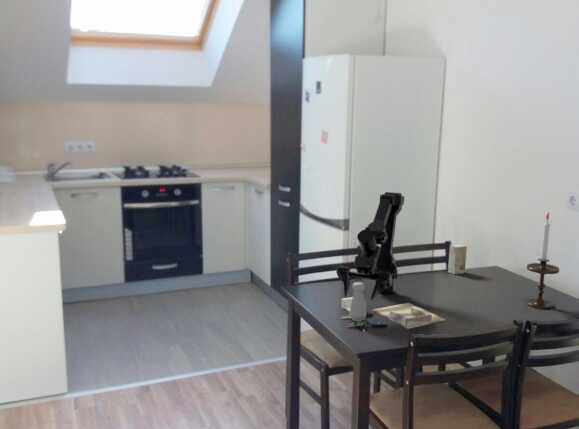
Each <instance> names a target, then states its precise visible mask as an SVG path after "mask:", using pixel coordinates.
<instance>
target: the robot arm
mask: <svg viewBox="0 0 579 429" xmlns="http://www.w3.org/2000/svg"><path fill="white" fill-rule="evenodd" d="M379 196H380V197H379V202H378V206H377V209H376V212H375V215H374V218H373V221H371V222H370V223H369V224H368V225H367V226H365V229H362V230H361V231H359V233H358V234H357V236H356V237H357V241H358V244H359V247H360V249H361V250H362V252H361V254H360V256H358V255H356V256H355V257H354V263H353V266H355V268H354V269H355V271H351V269H350V266H343V265H342V266H341V265H339V266H338V267H337V268H336V271H335V272H336V275H337V277H338V279H339V280H340V281H341V282H342V283H343V292H344V293H343V294H344V298H347V296H348V294H349V289H350V286H351V283H352V282H351V280H352V278H355V279H363V280H371V281H375V283H374V287H373V290H372V293H371V297H370V301H371V302H372V301H374V300H375V298H377V296H378V295H390V294H391V295H392V294H396V293H397V291H396V290H394V280H395V279H398V275H399V274H398V271H399V270H398V267H397V264H396V259H395V257H394V254H393V248H394V239H395V232H396V231H395V230H396V224H397V216H399V214H400V212H401V211H402V209H403V206H404V204H405V197H404V195H402V193H401V192H390V191H389V192H388V191H385V192H384V193H383V194H380V195H379ZM379 246H380V247H379Z"/></svg>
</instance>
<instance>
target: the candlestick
mask: <svg viewBox="0 0 579 429" xmlns="http://www.w3.org/2000/svg"><path fill="white" fill-rule="evenodd" d="M545 217H546V218H545V219H546V221H545V222H544V223H543V234H542V242H541V245H542V246H541V256H540V258H538V259H537V261H539V262H540V263H538V262H537V263H528V264H527V265H526V270H528V271H529V272H532V273H536V274H539V275H540V276H539V283H537V288H538V290H537V291H536V292H537V293H538V297H537V298H530V299H529V298H528V299H527V300H526V305H527V306H528V307H530V306H531V308H533V307H534V308H533V309H537V308H539V309H540V310H549V309H548V308H551V309H553V308H552V307H554V304H553V302H551V301H550V300H546V299H544V298H543V294H545V291H544V289H545V288H546V284H545V282H544V281H545V275H557V274H559V273H560V268H559V267H558V266H557V265H554V264H553V265H552V264H548V263H549V262H550V260H549V259H547V258H548V248H549V239H550V238H549V237H550V227H551V226H550V225H551V224H550V223H549V218H550V213H549V211H547V215H546V216H545ZM539 309H538V310H539Z"/></svg>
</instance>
